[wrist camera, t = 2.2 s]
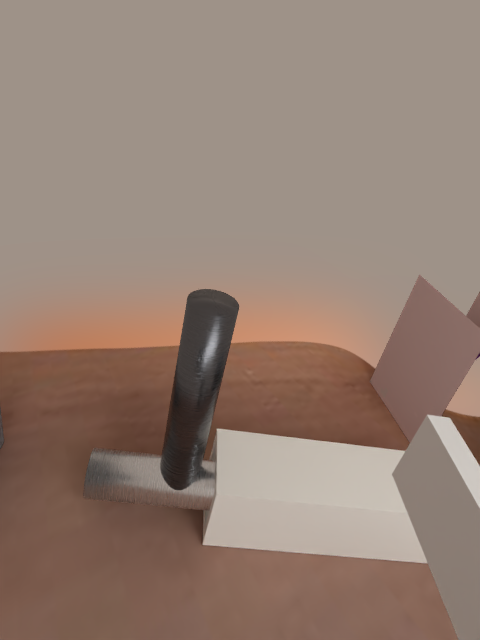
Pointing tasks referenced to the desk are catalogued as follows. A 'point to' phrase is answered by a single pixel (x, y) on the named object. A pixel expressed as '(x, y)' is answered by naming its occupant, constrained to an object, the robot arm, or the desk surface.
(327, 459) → the elongated cream cuboid
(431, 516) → the robot arm
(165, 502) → the slide bolt
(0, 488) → the desk surface
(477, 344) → the greeting card
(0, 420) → the socket block
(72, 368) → the desk surface
